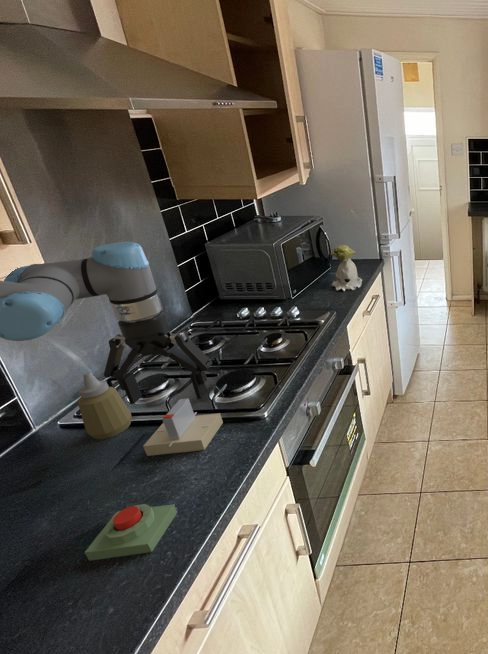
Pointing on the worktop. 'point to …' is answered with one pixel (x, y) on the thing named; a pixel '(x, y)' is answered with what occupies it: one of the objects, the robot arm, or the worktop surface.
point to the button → (127, 518)
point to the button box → (132, 534)
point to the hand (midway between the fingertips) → (169, 397)
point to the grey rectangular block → (179, 419)
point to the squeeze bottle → (102, 409)
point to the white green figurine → (346, 269)
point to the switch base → (185, 436)
